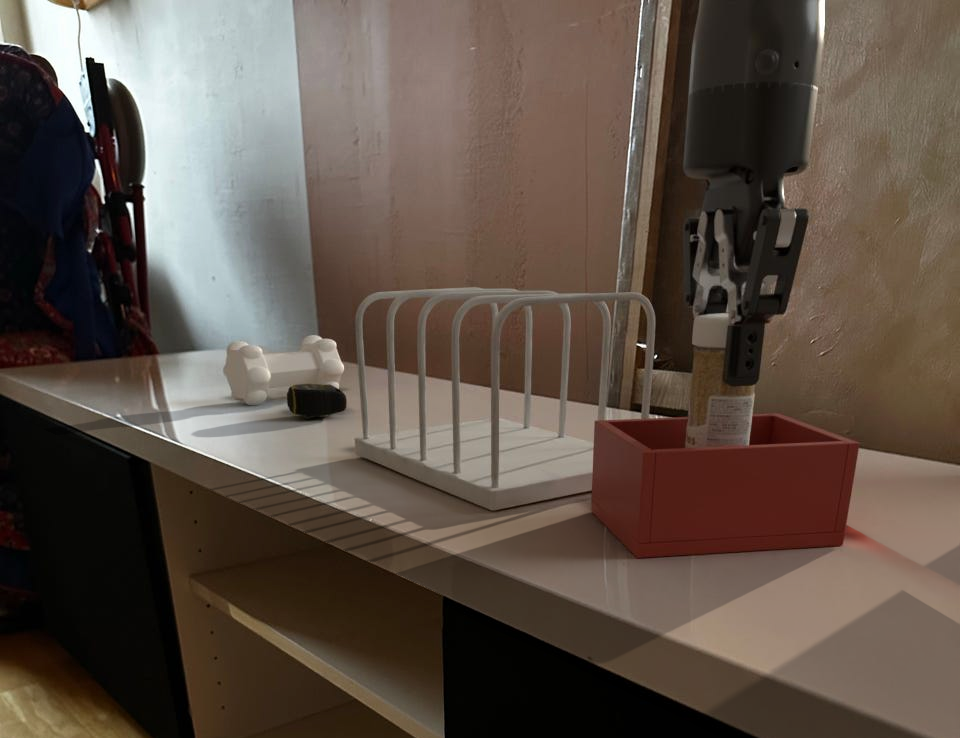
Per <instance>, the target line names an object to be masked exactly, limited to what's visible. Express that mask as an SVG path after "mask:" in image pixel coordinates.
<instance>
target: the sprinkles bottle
mask: <svg viewBox="0 0 960 738" xmlns="http://www.w3.org/2000/svg"><path fill="white" fill-rule="evenodd" d="M730 325H731V324H730V323H729V318H728V313H716V314H707V315H700V316H697V317H696V318H694V320H693V326H692V338H691V344H692V345H693V346H694V347H693V350H692V351H693V358H692V359H693V361H692V370H691V381H690V382H691V383H690V396H689V400H688V408H687V409H688V411H687V417H688V419H687V430H686V442H685V448H699V447H722V446H744V445H749V439H750V431H751V422H752V414H754V405H755V404H754V403H755V398H756V397H755V395H756V393H755V387H756V384H755V385H752V386H729V385H727V384H725V383H724V382H723V370H724V359H725V349H726V339H727V328H728V326H730Z"/></svg>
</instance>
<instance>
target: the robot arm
mask: <svg viewBox="0 0 960 738" xmlns="http://www.w3.org/2000/svg"><path fill="white" fill-rule="evenodd" d="M825 3H826V0H699V4H698V13H697V17H696V22H695V27H694V31H693V32H694V33H693V39H692V45H691V55H690V67H689V68H690V69H689V82H688V96H687V109H686V110H687V111H686V124H685V135H684V136H685V137H684V152H683V165H682V168H683V173H684V174H685V176H687V177H688V178H690V179H694V180H695V179H696V180H705V181H706V183H707V184H706V186H707V187H706V190H705V195H704V200H703V204H702V207H701V213H700V216H697V217H686V218H685V219H684V222H683V224H682V232H683V233H682V235H683V238H682V240H683V244H682V245H683V290H684V291H683V301H684V302H683V303H684V306H685V307H686V308H692V315H693V318H694V319H695V318H696V317H697V316H700V315H707V314H716V313H728V318H729V323H730V324H731V325H730V326H728V328H727V339H726V349H725V359H724V370H723V382H724V383H725V384H727V385H729V386H752V385H755V386H756V384H757V383H758V382H759V380H760V373H761V365H762V356H763V355H762V354H763V346H764V338H765V329H766V325H769V324H770V323H771V322H772V320H773V317H774V316H783V315H784V314H785V313H786V311H787V309H788V305H789V301H790V297H791V294H792V289H793V285H794V280H795V278H796V277H795V276H796V272H797V269H798V264H799V261H800V258H801V257H800V256H801V253H802V248H803V245H804V240H805V236H806V232H807V228H808V224H809V218H810V217H809V211H808V209H807V208H788V207H786V206H785V205H786V204H785V203H786V202H785V201H786V199H785V189H784V186H785V185H784V178H785V177H792V176H796V175H800V174H802V173H803V172H805V171H806V170H807V168H808V166H809V163H810V155H811V147H812V141H813V131H814V125H815V117H816V107H817V100H818V92H819V84H820V83H819V82H820V75H821V67H822V59H823V52H824V43H825V42H824V41H825V26H826V25H825V22H826V21H825V17H826V16H825V7H826V6H825V5H826V4H825ZM775 282H776V283H775ZM774 283H775V287H774V290H773V286H774Z"/></svg>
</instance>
